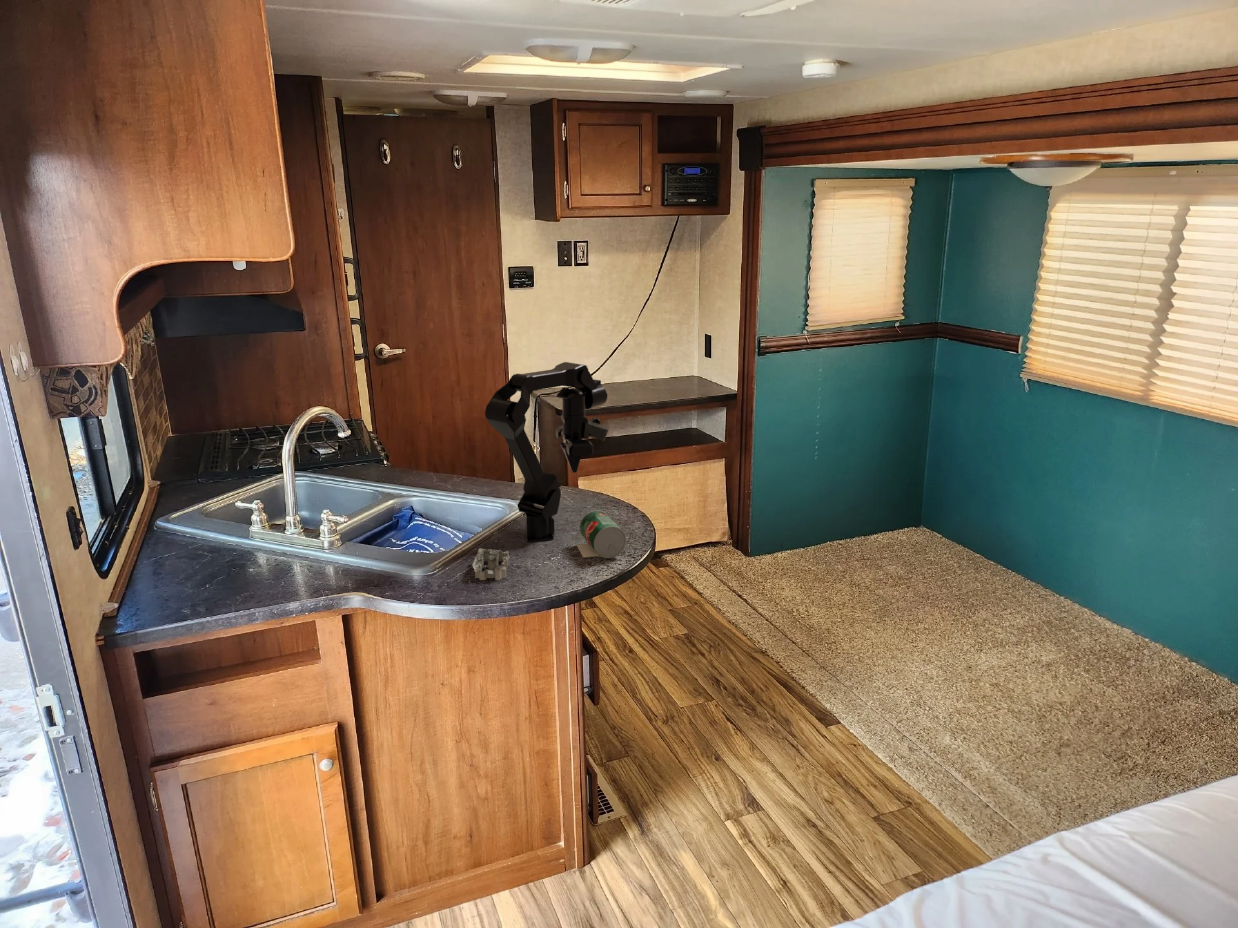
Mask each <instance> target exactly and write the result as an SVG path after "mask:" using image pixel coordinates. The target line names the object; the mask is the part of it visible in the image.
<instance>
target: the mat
mask: <svg viewBox="0 0 1238 928" xmlns="http://www.w3.org/2000/svg"><path fill="white" fill-rule="evenodd" d="M576 547H577V549H578V550H579V552H580V554H581V556H582V558H592V557H594V558H595V557H600V556H599V555H598V554H597V553H596V551H595V550H594V549H593V548H592V546H591V545H590V544H589V543H588V542H587V543H577V545H576Z"/></svg>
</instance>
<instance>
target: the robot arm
mask: <svg viewBox="0 0 1238 928" xmlns="http://www.w3.org/2000/svg"><path fill="white" fill-rule="evenodd" d="M558 387H561V390H560V391H558V393H557V394H556V398H559V399H562V404H561V405H562V414H560V420H561V422H562V425H558V426H557V428H556V429H555V437H556V438H557V439H561V438H562V439H563V442H561V443H560V447H561V448H562V451H563V454H564V456H565V458H566V460H567V463H568V465H569V468H570V470H571V473H578V470H579V469H578V468H579V465H580V462H581V458H582V456H590V455H594V454H595V447H594V444H593V443H592V442H591V441H590V440H589V438H594V439H597V440H599V441H602V442H605V440H606V438H607V434H608V432H609V428H608V427H607V426H606V425H604V424H603V423H602V424H601V420H600V418H598V417H594V416H593V417H592V418H591V419H590V420H589V419H588V418H587V417H586V410H590V409H593V408H596V407H599V406H603V405H604V404H605V403H607V400H608V393H607V389H606V388H605V387H604V386H603V385H602V380H601V379H594V378H593V376H592V374H591V372H590V371H589V368H588V366H587V364H582V363H581V364H580V363H575V362H568V361H564V362H562V363H559V364H557V365H555V366H554V367H553V368H552V369H546V370H538V371H533V372H525V373H515V374H513V375H512V376H511V377H510V378H509V380H508V381H507V383H505V384H504V385H503V386H501V387H500V388H498V390H496V391H495V392H494V394H493V395H492V397H491V398H490V400H489V402H488V403H487V404H486V407H485V411H484V415H485V419H486V420H487V422H488V423H489V424H490V425H491V427H492V428H493V429H494V430H496V432H498V433H499V434H500V435H501V436H503V438H504V440H505V441H506V444H507V446H508V447H509V450H510V451H511V454H512V456H513V458H514V460H515V462H516V464H517V466H518V468H519V470H520V472H521V474H522V477H523V478H524V483H523V486H522V487H523V494H522V496H521V498H520V499H519V502H518V503H517V508H518V511H519V512H520V513H524V530H523V533H524V537H525V539H526V541H527V542H529V543H530V542H539V541H540V542H541V541H551V540H554V538H555V537H554V535H555V518H554V516H556V515H557V514H558V512H559V508H560V507H559V506H560V502H561V498H562V496H561V495H562V492H561V489H560V488H561V486H562V485H561V484H560V483H559V482H558V478H557V476H556V475H555V473H549V472H546V471H544V469H543V467H542V464H541V463H540V460H539V458H538V456H537V454H536V452H535V450H534V448H533V445H532V443H531V441H530V439H529V437H528V435H527V432H526V431H525V426H526V421H527V418H526V414H527V412H528V410H529V408H530V407H531V395H532V394H533V392H534V391H540V390H546V389H550V388H551V389H552V388H558ZM567 387H568V388H567ZM518 392H520V397H519V399H518V400H517V401H513V400H509V399H510V398H511V397H513V396H514V395H516V394H517V393H518ZM561 436H562V437H561Z"/></svg>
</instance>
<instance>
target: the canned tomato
mask: <svg viewBox="0 0 1238 928" xmlns="http://www.w3.org/2000/svg"><path fill="white" fill-rule="evenodd" d="M579 523H580V524H579V532H580V535H581V536H582V537H583V539H584V540H585V541H586V542H587V543H589V544H590V545H591V546H592V548H593V549H594V550H595V551H596V553H597V554H598V555H599V556H598V557H600V558H601V557H602V558H604V559H613V558H616V557H617V556H620V554H621V553H622V552H623V551H624V549H625V548H626V544H627V536H626V533H625V532H624V530H623V529H621V527H620V526H618V525H617V523H616V522H615V521H614V520H613V519H612V518H611V517H610V516H609V515H608V514H607V513H606V512H604V511H602V510H597V509H596V510H591V511H589V512H587V513H586V514H585V515H584V516H582V518H581V520H580V522H579Z"/></svg>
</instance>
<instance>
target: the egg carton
mask: <svg viewBox="0 0 1238 928" xmlns="http://www.w3.org/2000/svg"><path fill="white" fill-rule="evenodd" d="M509 560H510V554H509V550H505V551H502V550H501V549H498V550H497V549H491V548H488V549H485V548H479V549H478V551H477V554H476V556H475V558H474V559H473V563H472V567H473V569H474V570H473V571H474V578H475V579H476V578H479V579H478V580H479V581H481V580H485V581H486V580H488V579H487V578H489V579H493V578H495V579H494V580H495V581H501V580H502V579H501V578H503V579H505V577H506V578H507V574H508V573H507V572H508V566H509ZM485 562H487V568H488V569H484V563H485ZM499 562H501V563H500V566H499ZM482 569H484V571H483V570H482ZM492 569H494V570H492ZM500 579H501V580H500Z"/></svg>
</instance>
